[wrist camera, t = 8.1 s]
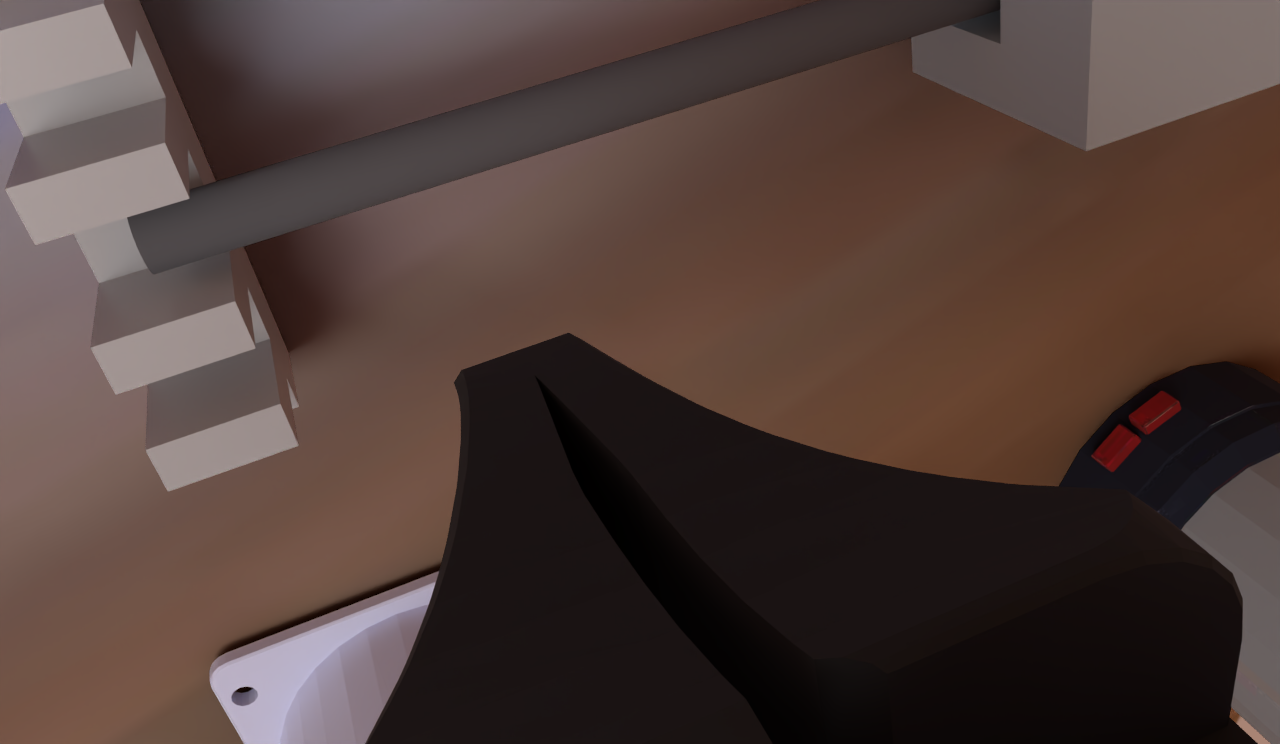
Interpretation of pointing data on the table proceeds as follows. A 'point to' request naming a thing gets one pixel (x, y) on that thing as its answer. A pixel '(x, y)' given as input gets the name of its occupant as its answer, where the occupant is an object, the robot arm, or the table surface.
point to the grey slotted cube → (1105, 61)
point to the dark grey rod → (526, 124)
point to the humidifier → (1210, 495)
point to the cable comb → (97, 216)
